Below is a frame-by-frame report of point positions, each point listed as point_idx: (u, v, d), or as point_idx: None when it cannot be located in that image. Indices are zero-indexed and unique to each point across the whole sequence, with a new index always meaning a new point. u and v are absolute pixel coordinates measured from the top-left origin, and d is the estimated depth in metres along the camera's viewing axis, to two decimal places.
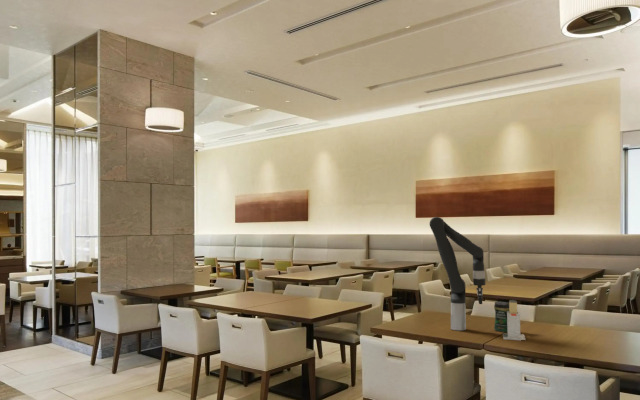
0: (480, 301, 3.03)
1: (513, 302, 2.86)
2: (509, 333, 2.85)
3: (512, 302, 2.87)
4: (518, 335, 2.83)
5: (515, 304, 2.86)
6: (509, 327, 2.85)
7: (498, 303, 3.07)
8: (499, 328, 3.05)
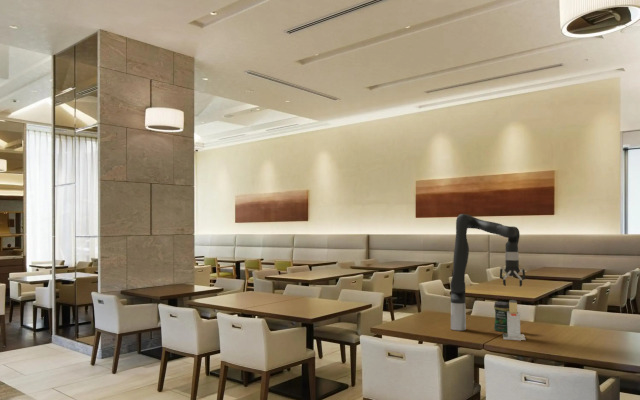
0: (521, 283, 2.87)
1: (513, 302, 2.86)
2: (509, 333, 2.85)
3: (512, 302, 2.87)
4: (518, 335, 2.83)
5: (515, 304, 2.86)
6: (509, 327, 2.85)
7: (498, 303, 3.07)
8: (499, 328, 3.05)
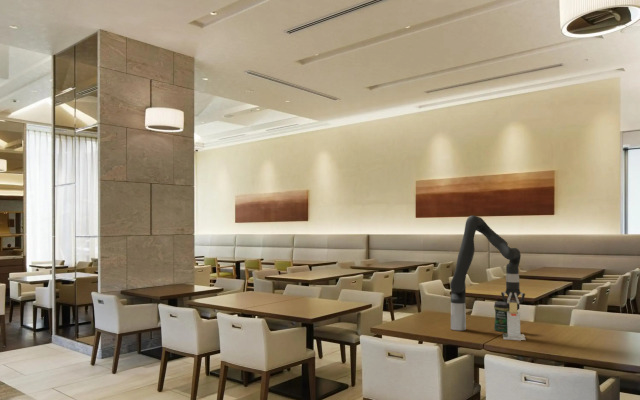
0: None
1: (513, 302, 2.86)
2: (509, 333, 2.85)
3: (512, 302, 2.87)
4: (518, 335, 2.83)
5: (515, 304, 2.86)
6: (509, 327, 2.85)
7: (498, 303, 3.07)
8: (499, 328, 3.05)
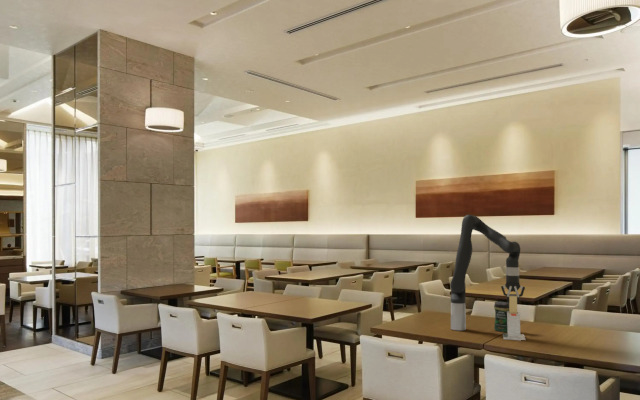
0: (518, 300, 2.87)
1: (513, 295, 2.87)
2: (509, 333, 2.85)
3: (512, 295, 2.87)
4: (518, 335, 2.83)
5: (515, 297, 2.86)
6: (509, 327, 2.85)
7: (498, 303, 3.07)
8: (499, 328, 3.05)
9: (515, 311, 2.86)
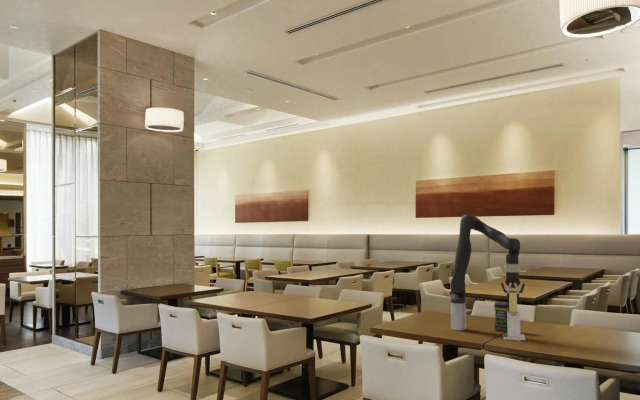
0: (518, 297, 2.87)
1: (513, 292, 2.87)
2: (509, 333, 2.85)
3: (512, 292, 2.87)
4: (518, 335, 2.83)
5: (515, 294, 2.86)
6: (509, 327, 2.85)
7: (498, 303, 3.07)
8: (499, 328, 3.05)
9: (515, 308, 2.86)
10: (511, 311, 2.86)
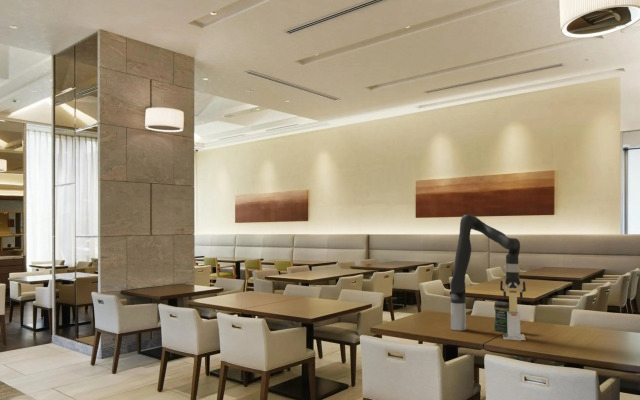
0: None
1: (513, 292, 2.87)
2: (509, 333, 2.85)
3: (512, 292, 2.87)
4: (518, 335, 2.83)
5: (515, 294, 2.86)
6: (509, 327, 2.85)
7: (498, 303, 3.07)
8: (499, 328, 3.05)
9: (515, 308, 2.86)
10: (511, 311, 2.86)
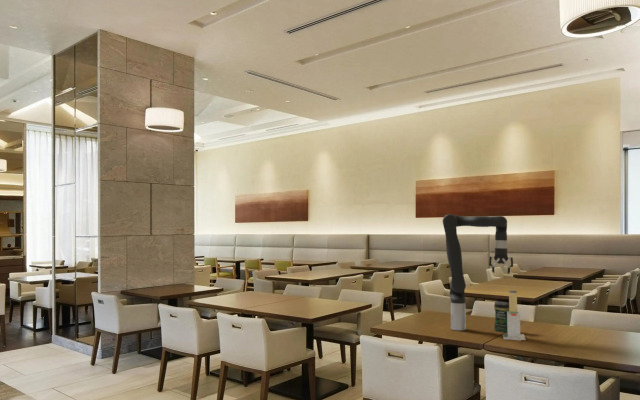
0: (509, 271, 3.00)
1: (513, 292, 2.87)
2: (509, 333, 2.85)
3: (512, 292, 2.87)
4: (518, 335, 2.83)
5: (515, 294, 2.86)
6: (509, 327, 2.85)
7: (498, 303, 3.07)
8: (499, 328, 3.05)
9: (515, 308, 2.86)
10: (511, 311, 2.86)
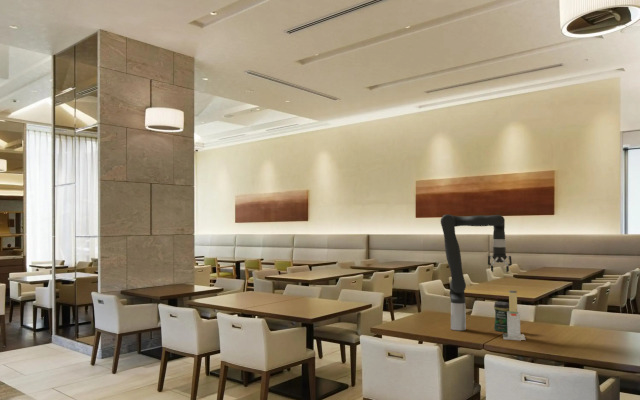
0: None
1: (513, 292, 2.87)
2: (509, 333, 2.85)
3: (512, 292, 2.87)
4: (518, 335, 2.83)
5: (515, 294, 2.86)
6: (509, 327, 2.85)
7: (498, 303, 3.07)
8: (499, 328, 3.05)
9: (515, 308, 2.86)
10: (511, 311, 2.86)
